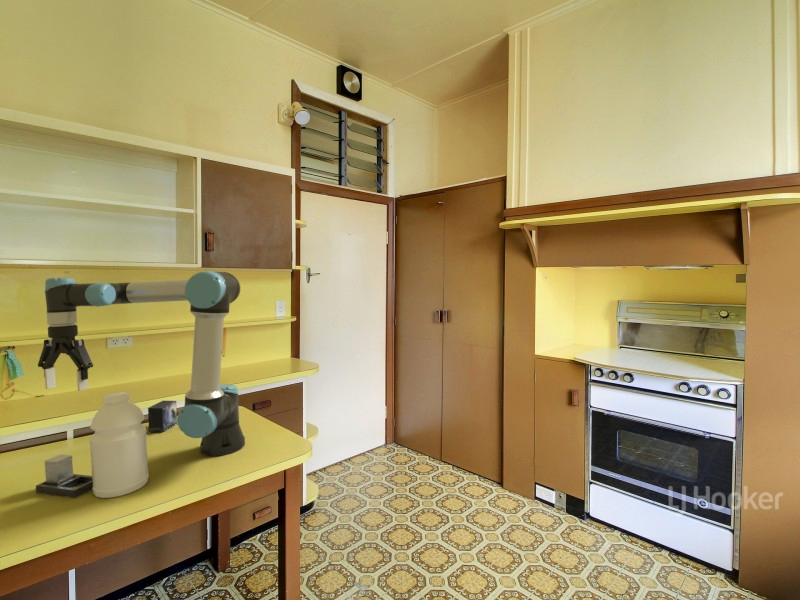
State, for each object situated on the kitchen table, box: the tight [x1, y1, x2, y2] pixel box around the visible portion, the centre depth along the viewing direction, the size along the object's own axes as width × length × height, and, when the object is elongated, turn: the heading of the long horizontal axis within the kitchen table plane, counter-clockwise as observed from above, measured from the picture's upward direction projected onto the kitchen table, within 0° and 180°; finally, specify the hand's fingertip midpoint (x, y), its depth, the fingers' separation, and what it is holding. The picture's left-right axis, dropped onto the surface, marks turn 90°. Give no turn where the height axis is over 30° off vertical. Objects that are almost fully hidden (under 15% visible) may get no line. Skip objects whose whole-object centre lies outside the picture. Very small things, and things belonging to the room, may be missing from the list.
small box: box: [147, 400, 178, 433], centre depth 170 cm, size 11×6×10 cm, turn 179°
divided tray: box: [35, 473, 93, 499], centre depth 121 cm, size 14×8×2 cm, turn 77°
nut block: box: [44, 453, 74, 486], centre depth 121 cm, size 4×4×9 cm
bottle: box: [89, 391, 150, 499], centre depth 120 cm, size 14×14×28 cm
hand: (66, 388), depth 133 cm, fingers open, 13 cm apart
